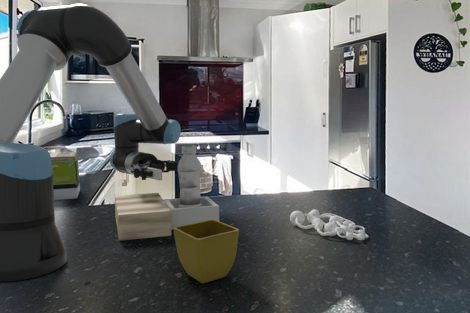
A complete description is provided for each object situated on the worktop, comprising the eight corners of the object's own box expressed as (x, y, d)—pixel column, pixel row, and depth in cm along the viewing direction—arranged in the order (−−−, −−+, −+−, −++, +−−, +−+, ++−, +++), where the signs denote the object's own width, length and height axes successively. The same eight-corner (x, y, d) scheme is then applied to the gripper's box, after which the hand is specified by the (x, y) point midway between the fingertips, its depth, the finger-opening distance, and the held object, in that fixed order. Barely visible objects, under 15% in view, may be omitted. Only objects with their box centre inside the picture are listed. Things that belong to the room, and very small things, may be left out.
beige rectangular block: (171, 235, 98) (170, 210, 97) (119, 240, 94) (118, 215, 93) (158, 213, 119) (158, 192, 118) (115, 216, 115) (114, 195, 114)
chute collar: (219, 225, 106) (219, 206, 106) (171, 229, 103) (170, 209, 102) (207, 213, 118) (207, 196, 118) (164, 217, 114) (163, 199, 114)
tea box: (51, 192, 150) (48, 151, 148) (80, 190, 153) (78, 150, 151) (45, 201, 135) (42, 156, 134) (78, 198, 138) (75, 155, 137)
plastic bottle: (173, 222, 109) (171, 147, 107) (187, 216, 115) (185, 145, 113) (194, 225, 106) (192, 148, 104) (207, 218, 112) (205, 145, 110)
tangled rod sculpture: (383, 241, 97) (385, 224, 97) (341, 248, 89) (343, 229, 89) (323, 220, 113) (325, 206, 113) (283, 224, 105) (284, 209, 105)
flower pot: (198, 291, 68) (197, 238, 67) (173, 274, 75) (172, 226, 74) (240, 278, 73) (240, 229, 72) (213, 263, 80) (213, 218, 79)
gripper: (176, 172, 136) (217, 180, 121) (104, 181, 119) (142, 192, 104) (175, 149, 135) (217, 154, 120) (103, 156, 119) (141, 163, 103)
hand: (182, 172), depth 112 cm, fingers open, 13 cm apart
